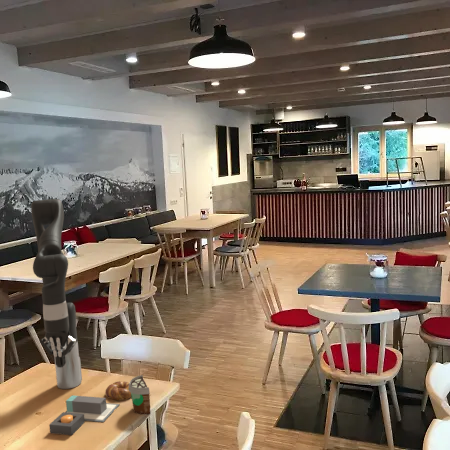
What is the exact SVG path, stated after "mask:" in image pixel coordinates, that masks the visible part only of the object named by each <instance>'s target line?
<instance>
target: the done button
mask: <svg viewBox="0 0 450 450" xmlns="http://www.w3.org/2000/svg"><path fill="white" fill-rule="evenodd" d="M72 420H73V416H72V415H65V416H63V417H61V423H70V422H71V421H72Z"/></svg>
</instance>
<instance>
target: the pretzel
mask: <svg viewBox="0 0 450 450" xmlns="http://www.w3.org/2000/svg"><path fill="white" fill-rule="evenodd" d="M129 383H130V382H128V381H120V380H119V381H115V382H113V383H111V384H109V385H108V386H107V387H106V389H105V396H106V397H107V398H109V399H113V400H115V401H121V400H125V401H126V400H129V399H132V397H131V392H130V391H129V389H128V388H129Z"/></svg>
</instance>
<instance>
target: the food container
mask: <svg viewBox="0 0 450 450" xmlns="http://www.w3.org/2000/svg"><path fill="white" fill-rule="evenodd" d="M128 383H129V388H128V389H129V391H130V392H131V401H132V402H131V403H132V410H133V412H134V413H135V414H138V415H151V400H150V399H151V398H150V393H151V392H150V387H148V385H147V383H146V381H145V379H144V375H143V374H140V375H137V376H135V377H133V378H132V379H130V381H129V382H128Z"/></svg>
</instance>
